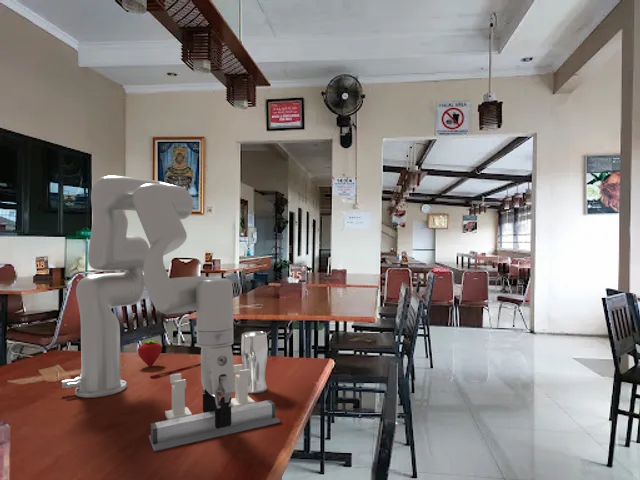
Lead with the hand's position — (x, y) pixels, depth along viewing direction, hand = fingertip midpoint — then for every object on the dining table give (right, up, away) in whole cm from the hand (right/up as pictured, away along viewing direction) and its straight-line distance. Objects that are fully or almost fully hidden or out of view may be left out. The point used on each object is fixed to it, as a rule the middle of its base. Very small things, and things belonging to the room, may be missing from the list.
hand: (216, 418), depth 93 cm
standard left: (-11, -3, +8) cm, 13 cm away
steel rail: (0, -2, 0) cm, 2 cm away
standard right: (+3, -2, +15) cm, 15 cm away
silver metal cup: (+4, -3, +25) cm, 26 cm away
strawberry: (-34, -4, +51) cm, 61 cm away
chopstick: (-21, -4, +47) cm, 52 cm away
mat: (0, -2, 0) cm, 2 cm away
